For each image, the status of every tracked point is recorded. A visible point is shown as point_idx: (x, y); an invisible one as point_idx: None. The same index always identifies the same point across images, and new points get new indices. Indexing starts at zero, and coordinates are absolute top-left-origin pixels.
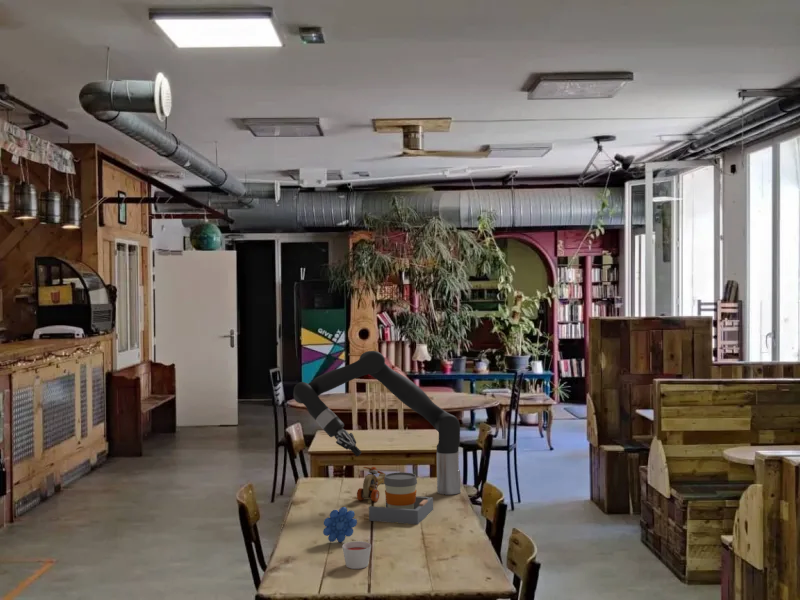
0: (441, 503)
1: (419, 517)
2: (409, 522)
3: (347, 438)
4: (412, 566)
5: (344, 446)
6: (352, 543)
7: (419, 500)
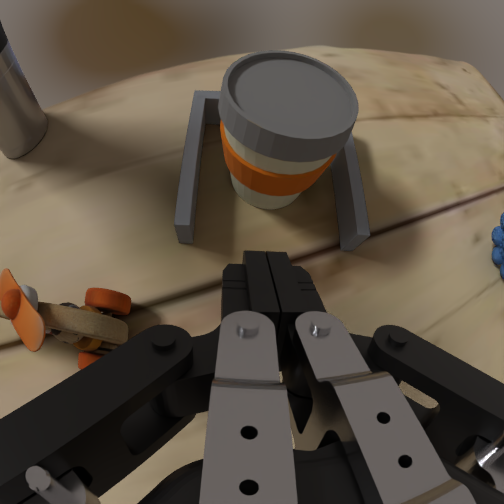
0: (124, 115)
1: None
2: None
3: (415, 422)
4: (493, 132)
5: (414, 410)
6: None
7: (202, 124)
